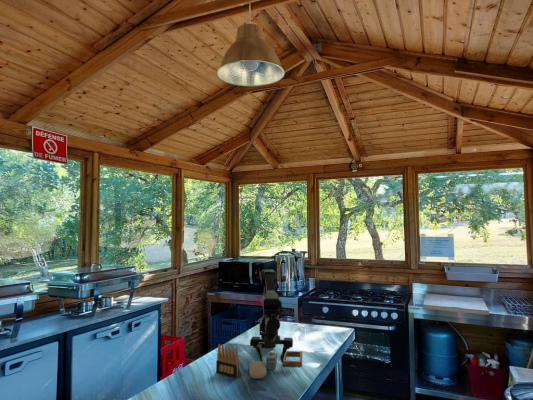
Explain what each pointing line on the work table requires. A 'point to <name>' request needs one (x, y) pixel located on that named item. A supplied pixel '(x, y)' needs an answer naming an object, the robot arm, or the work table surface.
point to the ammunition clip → (227, 362)
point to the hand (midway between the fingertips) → (271, 361)
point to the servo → (271, 360)
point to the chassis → (292, 363)
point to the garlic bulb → (257, 369)
